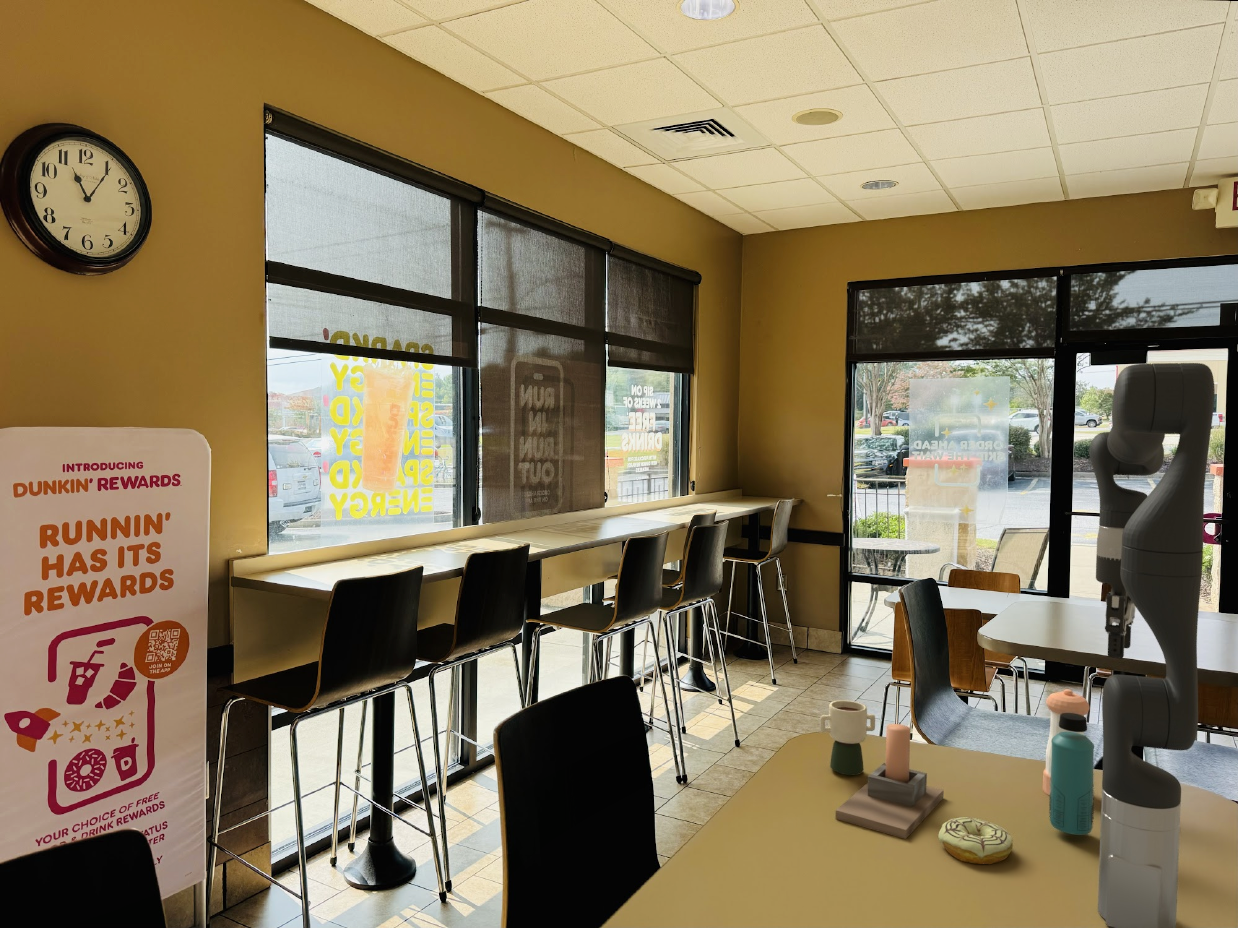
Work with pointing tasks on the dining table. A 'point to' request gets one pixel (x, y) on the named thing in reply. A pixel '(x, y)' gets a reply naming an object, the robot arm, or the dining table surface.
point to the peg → (897, 752)
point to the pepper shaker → (1058, 705)
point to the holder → (891, 803)
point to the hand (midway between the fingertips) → (1119, 652)
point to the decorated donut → (975, 840)
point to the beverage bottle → (1072, 777)
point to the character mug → (847, 734)
